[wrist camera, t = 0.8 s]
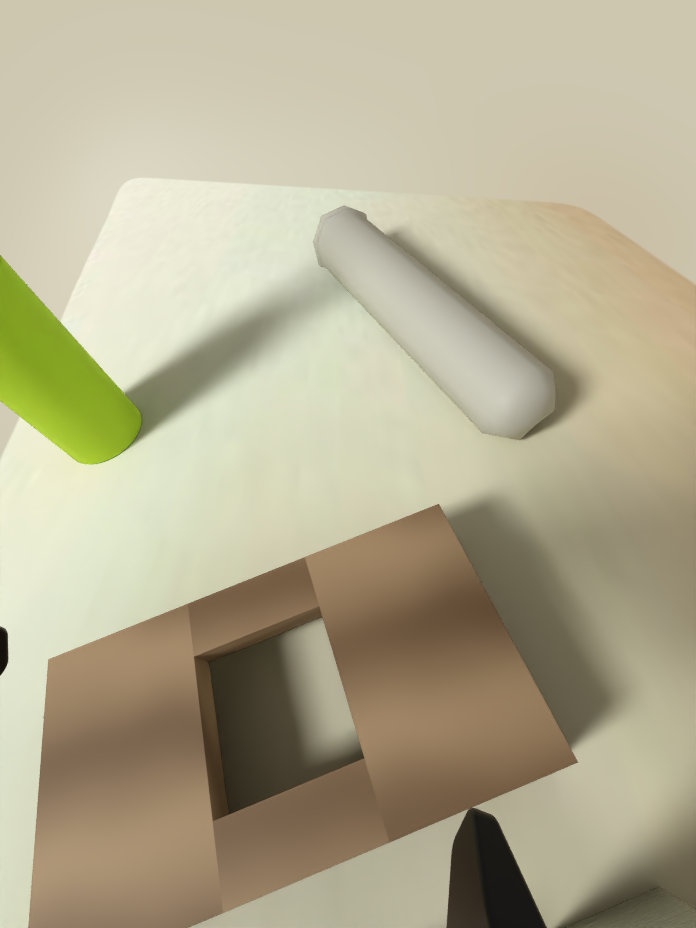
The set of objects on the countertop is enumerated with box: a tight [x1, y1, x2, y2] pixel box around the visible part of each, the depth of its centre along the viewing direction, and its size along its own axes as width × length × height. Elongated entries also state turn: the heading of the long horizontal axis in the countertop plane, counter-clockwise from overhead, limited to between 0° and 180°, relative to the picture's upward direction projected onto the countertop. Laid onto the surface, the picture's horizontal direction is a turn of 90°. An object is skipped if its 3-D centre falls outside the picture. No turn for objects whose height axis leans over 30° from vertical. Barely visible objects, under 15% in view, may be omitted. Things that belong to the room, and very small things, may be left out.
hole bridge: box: [28, 504, 578, 928], centre depth 19 cm, size 11×20×4 cm, turn 109°
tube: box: [313, 206, 556, 440], centre depth 32 cm, size 5×5×25 cm
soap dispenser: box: [0, 255, 142, 464], centre depth 25 cm, size 6×7×20 cm
